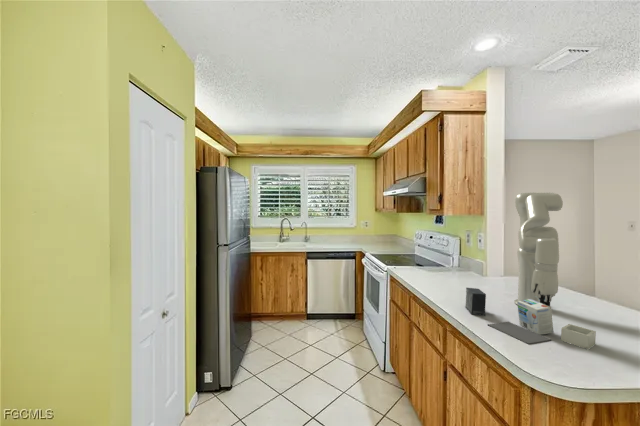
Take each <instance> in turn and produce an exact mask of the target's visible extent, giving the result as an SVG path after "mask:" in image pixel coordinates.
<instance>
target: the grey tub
mask: <svg viewBox="0 0 640 426" xmlns="http://www.w3.org/2000/svg"><path fill="white" fill-rule="evenodd" d="M596 334H597V331H596V330H592V329H589V328H586V327H582V326H579V325H575V324H572V323H568V324H566V325H565V326H563V327H561V334H560V341H561V342H563V341H564V342H565V343H566V342H568V344H570V343H571V344H570V345H573V344H574V346H577V347H579V346H580V347H579V348H582V347H583V348H582V349H585V348H586V349H585V350H590V349H591V348H592V347H594V346H595V345H596V339H597V338H596V336H597V335H596ZM593 345H594V346H593ZM589 348H590V349H589Z"/></svg>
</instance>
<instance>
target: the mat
mask: <svg viewBox="0 0 640 426" xmlns="http://www.w3.org/2000/svg"><path fill="white" fill-rule="evenodd" d="M487 326H488V327H491V328H493V329H495V330H497V331H499V332H501V333H503V334H506V335H508V336H510V337H512V338H514V339H516V340H517V341H521V342H523V343H525V344H527V345H532V344H537V343H538V344H539V343H545V342H550V341H552V339H551V338H548V337H546V336H544V335H543V334H542V335H539V334H537V333H535V332H532V331H531V330H529V329H527V328H525V327H523V326H521V325H518V324H515V323H513V322H511V321H502V322H496V323H488V324H487Z"/></svg>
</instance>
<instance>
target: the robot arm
mask: <svg viewBox="0 0 640 426" xmlns="http://www.w3.org/2000/svg"><path fill="white" fill-rule="evenodd" d="M514 200H515V202H514V203H515V209H516V212H517V214H518V216H519V226H520V227H519V230H518V233H517V234H518V235H517V236H518V245H519V248H518V249H517V253H516V254H517V260H518V261H517V262H518V283H517V284H518V287H517V298H516V299H515V300H514V301H513V302H514V304H515V305H517V306H518V303H517V301H522V300H527V299H532V300H535V301H537V302H540V303H542V304H545V305H547V306H550V307H551V302H552V298H553V297H555V296H556V294H558V292H559V275H558V263H559V261H560V248H559V247H560V246H559V245H560V244H559V243H560V242H559V233H558V231H557V229H556V228H555V227H552V226H546V225H548V224H549V223H550V221H551V217H550V213H549V212H559V211H561V210H562V209H563V203H564V202H563V198H562V196H561V195H560V194H558V193H555V192H522V193H519V194H517V195H516V196H515V199H514Z"/></svg>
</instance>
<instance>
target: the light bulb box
mask: <svg viewBox="0 0 640 426" xmlns="http://www.w3.org/2000/svg"><path fill="white" fill-rule="evenodd" d="M517 303H518V305H517V311H518V322H519V326H521V327H523V328H525V329H527V330H530V331H532V332H535V333H537V334H539V335H542V336H543V335H546V334H547V335H548V334H553V333H554V324H553V315H552V306H551V305H550V306H547V305H545V304H542V303H540V302H537V301H535V300H532V299H527V300H522V301H517Z"/></svg>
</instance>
